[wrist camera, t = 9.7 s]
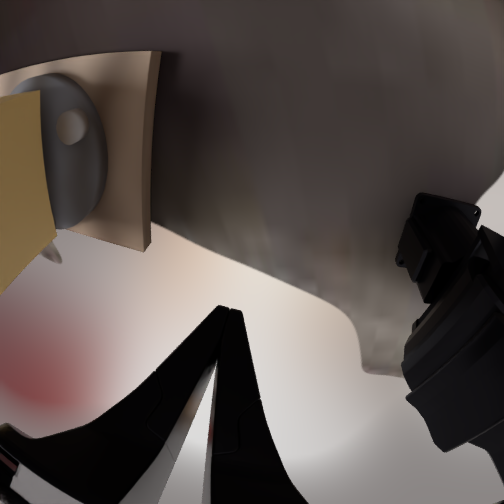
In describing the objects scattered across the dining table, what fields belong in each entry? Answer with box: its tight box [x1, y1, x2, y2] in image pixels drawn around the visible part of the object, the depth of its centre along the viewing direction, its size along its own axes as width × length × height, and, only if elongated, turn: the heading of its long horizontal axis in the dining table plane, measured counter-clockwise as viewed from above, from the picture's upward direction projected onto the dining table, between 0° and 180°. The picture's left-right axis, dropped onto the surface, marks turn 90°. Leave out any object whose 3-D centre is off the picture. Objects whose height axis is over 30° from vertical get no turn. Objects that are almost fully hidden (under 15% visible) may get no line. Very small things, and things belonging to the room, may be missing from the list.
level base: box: [0, 51, 162, 252], centre depth 18 cm, size 20×16×4 cm
